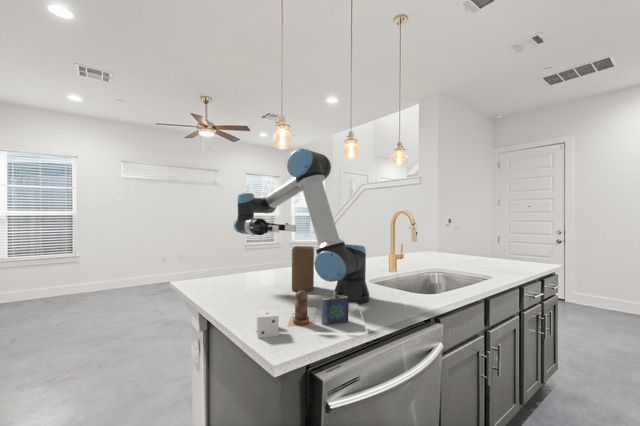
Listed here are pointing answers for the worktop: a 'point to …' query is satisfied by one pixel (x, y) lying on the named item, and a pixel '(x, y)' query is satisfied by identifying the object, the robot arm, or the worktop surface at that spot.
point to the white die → (267, 323)
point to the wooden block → (302, 268)
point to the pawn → (301, 309)
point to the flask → (335, 309)
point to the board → (311, 314)
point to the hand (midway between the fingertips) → (286, 228)
